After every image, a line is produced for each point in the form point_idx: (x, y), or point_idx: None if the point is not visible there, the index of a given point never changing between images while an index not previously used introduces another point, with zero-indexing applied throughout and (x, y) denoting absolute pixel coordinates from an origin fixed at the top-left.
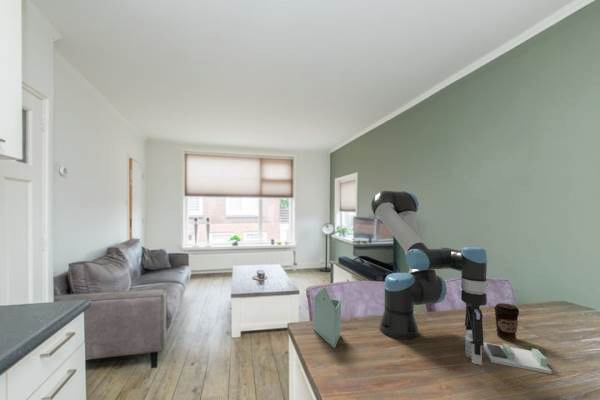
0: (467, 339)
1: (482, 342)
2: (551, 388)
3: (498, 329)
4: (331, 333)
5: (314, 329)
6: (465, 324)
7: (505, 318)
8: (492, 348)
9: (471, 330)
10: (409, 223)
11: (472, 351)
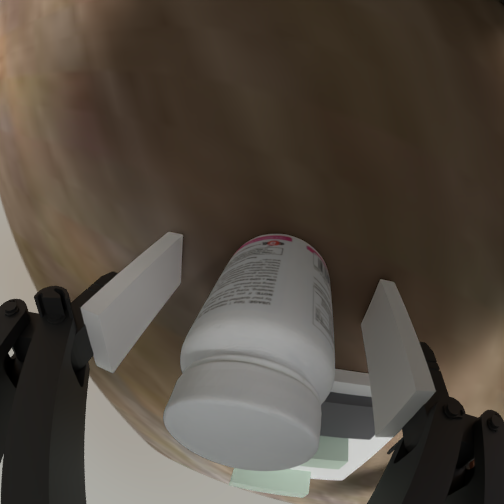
0: (220, 318)
1: (13, 358)
2: (127, 405)
3: (471, 461)
4: None
5: None
6: (489, 425)
7: None
8: (338, 412)
9: (290, 449)
10: None
11: (125, 268)
